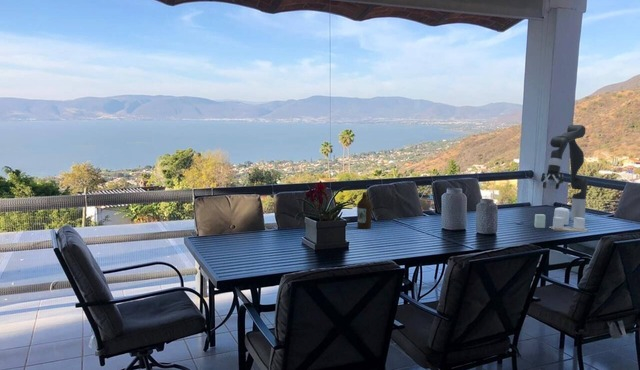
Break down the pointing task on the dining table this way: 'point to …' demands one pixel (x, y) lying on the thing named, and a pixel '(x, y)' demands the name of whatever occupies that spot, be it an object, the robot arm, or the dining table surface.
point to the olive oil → (364, 212)
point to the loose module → (539, 221)
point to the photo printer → (562, 214)
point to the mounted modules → (578, 224)
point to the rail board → (570, 229)
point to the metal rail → (565, 228)
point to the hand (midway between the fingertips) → (550, 188)
